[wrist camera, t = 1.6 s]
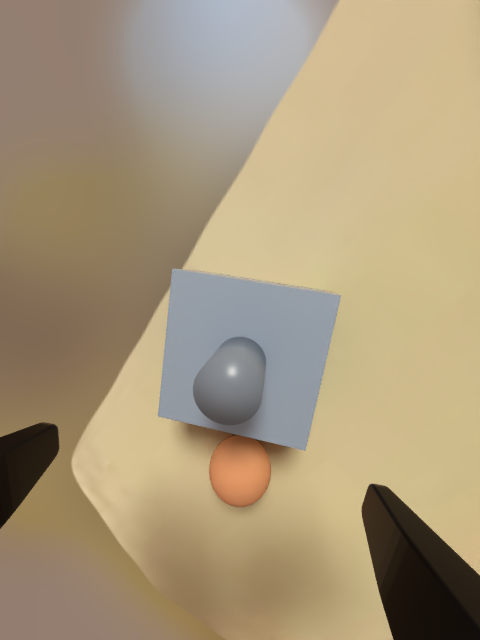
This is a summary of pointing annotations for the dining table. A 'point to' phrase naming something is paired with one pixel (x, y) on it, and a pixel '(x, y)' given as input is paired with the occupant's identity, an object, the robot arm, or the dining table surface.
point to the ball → (240, 471)
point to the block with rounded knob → (245, 355)
